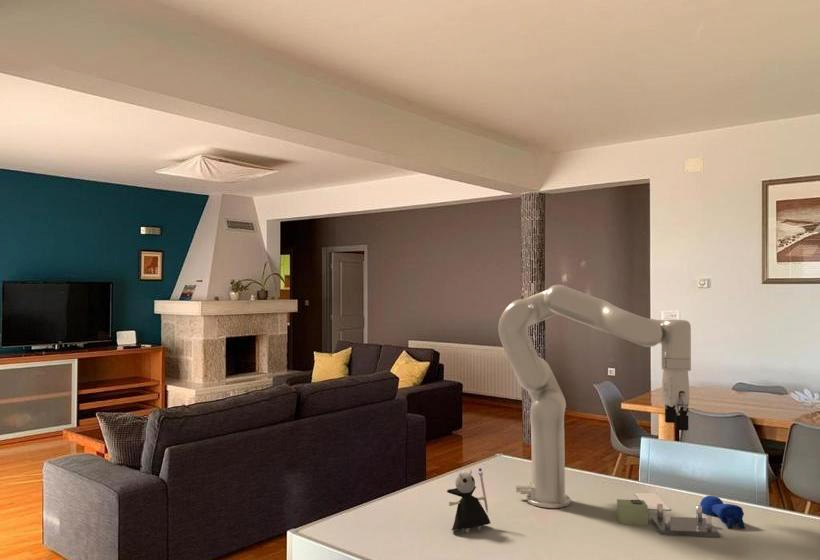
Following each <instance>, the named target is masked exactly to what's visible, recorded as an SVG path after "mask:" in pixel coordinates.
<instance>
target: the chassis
mask: <svg viewBox="0 0 820 560" xmlns="http://www.w3.org/2000/svg"><path fill="white" fill-rule="evenodd" d="M695 510H696V511H695V516H696V517H691V516H690V517H689V516H687V517H684V516H671V513H667V512H665V513H664V510H663V505H662V504H657V510H656V511H657V512H656V515H650V521H651V523H652V524H653V525H654V527H655V529H656V530H657V532H658V533H659V534H660V536H661V535H665V536H683V537H685V536H686V537H704V538H705V537H706V538H708V537H709V538H719V537H720V532H719V530H717V528H716V527H715V526H714V525H713V523H712V521H713V520H712V516H713V515H706V514H705V517H703V513H702V506H700V504H697V505H696V506H695Z"/></svg>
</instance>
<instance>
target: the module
mask: <svg viewBox="0 0 820 560" xmlns="http://www.w3.org/2000/svg"><path fill="white" fill-rule="evenodd" d="M648 512H649V510H648V506H647V504H646V503H645V502H644V500H638V499H622V498H621V499H619V498H617V499H616V518H617V520H618V522H619V523H620V524H625V525H626V524H627V525H649V523H648V522H649V521H648V520H649V518H648V514H649V513H648Z"/></svg>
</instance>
